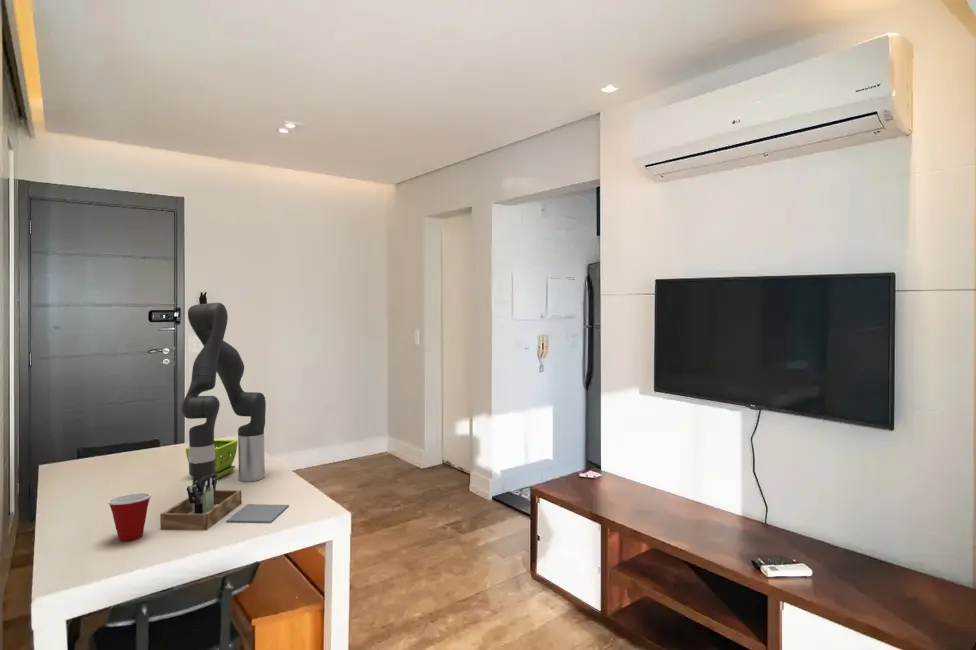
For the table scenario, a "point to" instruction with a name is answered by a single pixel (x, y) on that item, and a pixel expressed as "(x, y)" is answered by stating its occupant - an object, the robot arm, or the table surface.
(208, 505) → the sage block
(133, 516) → the plastic cup
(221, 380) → the robot arm
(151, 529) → the table surface
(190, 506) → the wooden frame
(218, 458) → the flower pot
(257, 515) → the slate mat
